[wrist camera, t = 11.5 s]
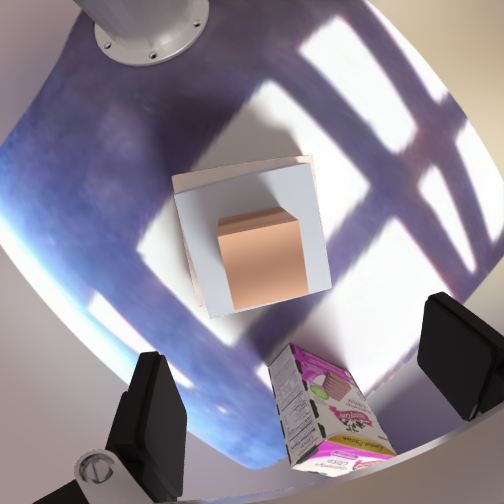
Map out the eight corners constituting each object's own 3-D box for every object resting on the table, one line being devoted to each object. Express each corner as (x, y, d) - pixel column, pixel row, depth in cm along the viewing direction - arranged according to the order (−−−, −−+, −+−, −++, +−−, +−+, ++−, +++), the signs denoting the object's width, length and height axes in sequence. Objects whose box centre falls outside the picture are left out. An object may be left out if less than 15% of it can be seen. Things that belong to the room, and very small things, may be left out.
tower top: (180, 190, 28) (173, 195, 24) (298, 162, 28) (309, 162, 24) (211, 299, 31) (210, 318, 27) (319, 272, 31) (331, 287, 27)
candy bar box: (351, 370, 40) (401, 457, 24) (329, 394, 40) (367, 483, 25) (289, 338, 37) (326, 440, 21) (265, 367, 38) (288, 471, 22)
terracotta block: (218, 219, 25) (217, 236, 19) (280, 206, 25) (298, 220, 19) (231, 277, 26) (234, 310, 20) (290, 265, 26) (309, 294, 21)
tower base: (177, 174, 31) (171, 176, 27) (302, 155, 32) (312, 155, 28) (200, 291, 35) (198, 306, 31) (314, 271, 35) (325, 285, 31)
